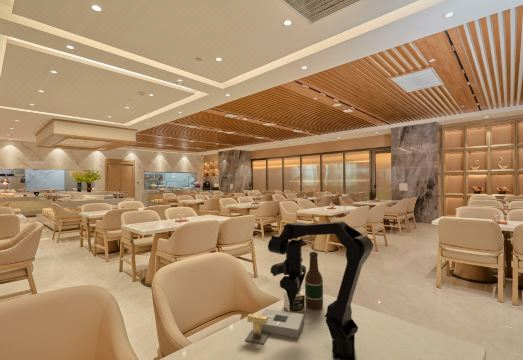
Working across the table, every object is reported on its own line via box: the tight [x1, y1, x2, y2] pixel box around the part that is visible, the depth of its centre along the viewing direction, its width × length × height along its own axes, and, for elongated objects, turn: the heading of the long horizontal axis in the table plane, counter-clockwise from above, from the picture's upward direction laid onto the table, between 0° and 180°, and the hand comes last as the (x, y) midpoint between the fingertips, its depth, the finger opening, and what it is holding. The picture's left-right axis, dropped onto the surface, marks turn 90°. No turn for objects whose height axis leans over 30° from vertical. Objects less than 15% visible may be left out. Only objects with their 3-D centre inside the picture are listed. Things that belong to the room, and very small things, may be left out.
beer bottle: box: [304, 251, 324, 311], centre depth 124 cm, size 8×8×24 cm
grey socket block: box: [260, 308, 305, 339], centre depth 108 cm, size 16×12×3 cm
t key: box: [246, 313, 268, 339], centre depth 100 cm, size 3×7×7 cm, turn 71°
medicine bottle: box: [283, 286, 306, 313], centre depth 122 cm, size 7×7×12 cm
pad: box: [244, 329, 271, 345], centre depth 100 cm, size 7×7×1 cm
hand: (294, 298), depth 103 cm, fingers open, 9 cm apart
